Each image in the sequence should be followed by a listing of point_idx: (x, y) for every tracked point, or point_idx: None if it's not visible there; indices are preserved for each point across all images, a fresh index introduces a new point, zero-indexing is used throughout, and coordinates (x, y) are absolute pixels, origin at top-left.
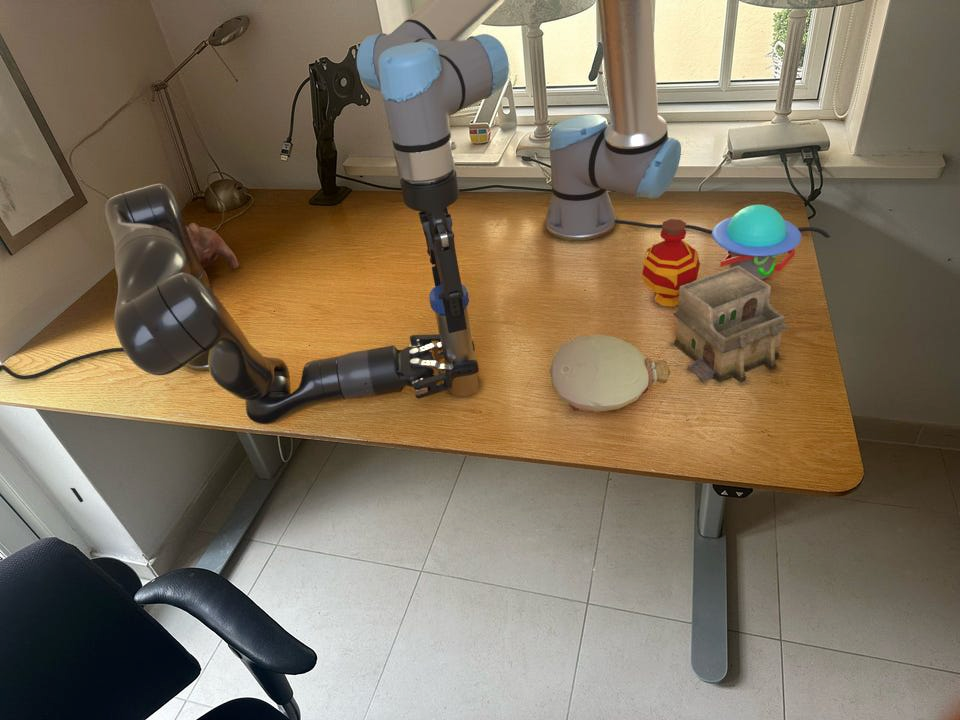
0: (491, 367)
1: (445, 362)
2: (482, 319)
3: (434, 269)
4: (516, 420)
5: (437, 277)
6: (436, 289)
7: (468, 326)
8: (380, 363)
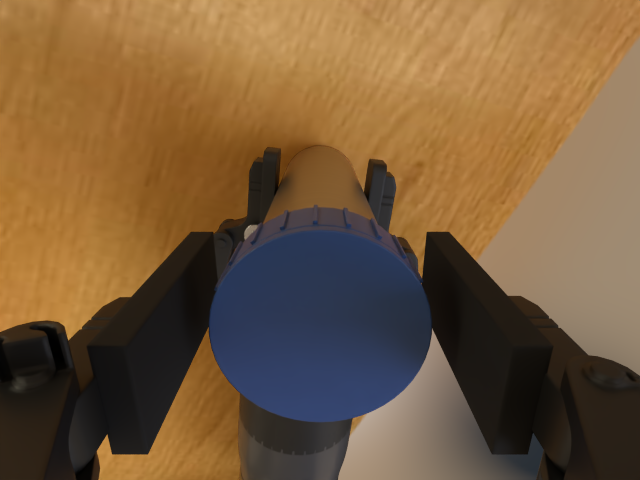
0: (267, 96)
1: None
2: (35, 64)
3: (149, 439)
4: (486, 89)
5: (170, 382)
6: (263, 384)
7: (354, 198)
8: (332, 424)
